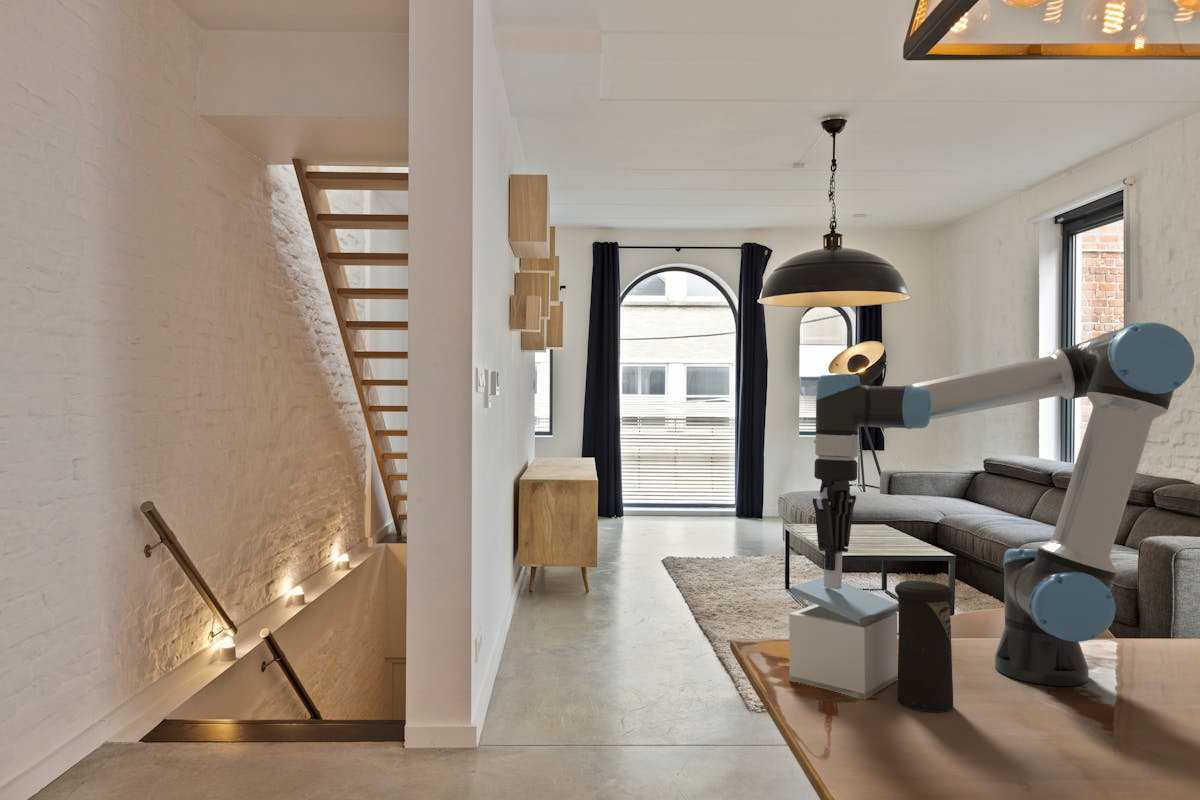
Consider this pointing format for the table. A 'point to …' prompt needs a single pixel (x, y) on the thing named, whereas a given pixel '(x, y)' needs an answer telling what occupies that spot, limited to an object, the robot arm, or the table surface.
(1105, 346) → the robot arm
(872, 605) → the lid
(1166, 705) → the table surface
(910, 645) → the container
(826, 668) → the box
